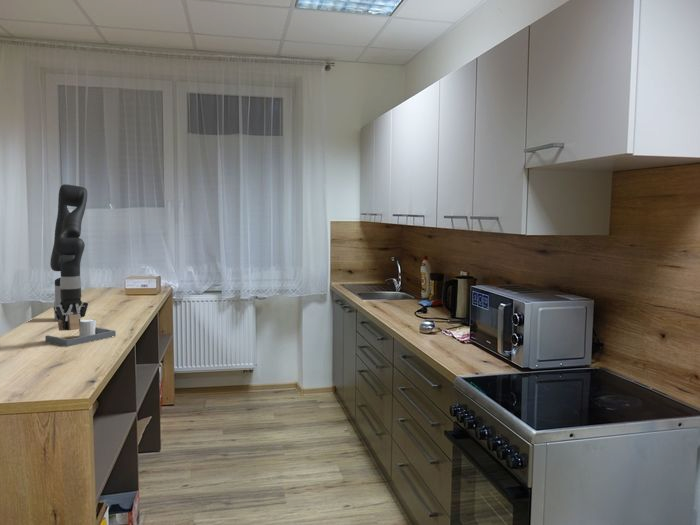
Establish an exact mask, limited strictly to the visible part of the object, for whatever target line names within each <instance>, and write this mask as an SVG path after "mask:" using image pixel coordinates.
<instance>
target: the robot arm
mask: <svg viewBox="0 0 700 525" xmlns="http://www.w3.org/2000/svg"><path fill="white" fill-rule="evenodd" d="M57 200H58V202H57V216H56V221H55V228H54V229H55V230H54V240H53V248H52V251H51V255H50V260H49V261H50V263H49V264H50V267H51V268H50V269H51V270H52V271H54V272H60V277H58V278H56V279H55V280H54V301H53V307H52V308H53V312H54V314H53V315H54V320H55V322H56V321H57V322H58V320H62V321H63V329H64V331H70V330H69V321H68V318H69V315H70V314H79V324H80V320H82V319H83V318H84V317H85V316H86V313H87V310H88V306H89V303H88V302H84V301H82V300H81V299H82V280H81V262H82V261H81V260H82V257H83V254H84V251H85V246H86V245H85V242H84V240H83V238H81V234H82V233H81V232H82V221H83V218H84V215H85V212H86V208H87V201H88V190H87V188H86V187H83V186H78V185H74V184H61V186H60V187H59V190H58V199H57ZM68 207H74V209H73V210H72V211H71V212H70V210H69V208H68Z"/></svg>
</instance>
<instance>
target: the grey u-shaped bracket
mask: <svg viewBox="0 0 700 525" xmlns="http://www.w3.org/2000/svg"><path fill="white" fill-rule="evenodd" d="M116 331H117V330H114V329H109V328H102V327H95V334H93V335H88V336H83V337H80V336H79V337H73V338H69V339H66V338H62V337H58V336H53V335H45V337H44V338H45V343H49V344H53V345H58V346H62V347H71V346H77V345H82V344H84V343H85V344H86V343H90V341H91V342H95V341H94V340H96V341H100V340H99V339H101V340H104V339H103V338H106V339H109V338H108V337H111V338H113V337H112V336H116ZM96 333H97V334H96ZM116 337H117V336H116Z"/></svg>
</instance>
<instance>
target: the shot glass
mask: <svg viewBox="0 0 700 525" xmlns="http://www.w3.org/2000/svg"><path fill="white" fill-rule="evenodd" d="M96 325H97V320H96V319H95V318H84V319H80V329H78V332H79V337H83V336H88V335H93V334H96V333H95V327H96Z"/></svg>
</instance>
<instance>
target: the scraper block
mask: <svg viewBox="0 0 700 525" xmlns="http://www.w3.org/2000/svg"><path fill="white" fill-rule="evenodd" d="M68 321H69V330H68V331H74V330H79V329H80V324H79V314H70V315H69V318H68ZM57 327H58V331H63V332H64V331H65V330H64V329H63V321H62V320H58V321H57Z"/></svg>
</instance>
